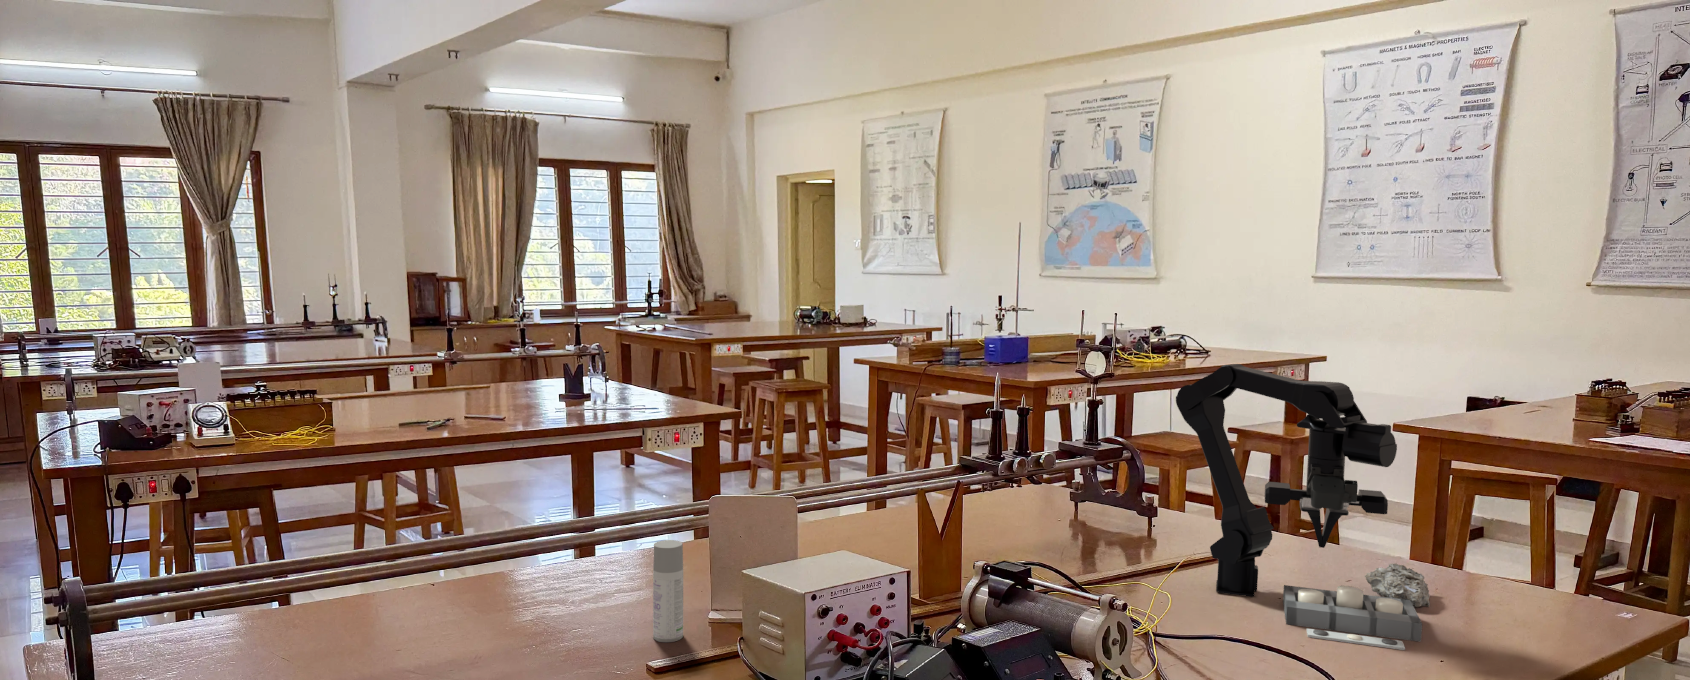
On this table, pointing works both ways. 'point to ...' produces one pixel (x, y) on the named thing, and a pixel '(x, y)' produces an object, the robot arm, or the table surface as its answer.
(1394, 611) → the button right
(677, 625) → the container
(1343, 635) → the card
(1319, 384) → the robot arm
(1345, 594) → the button middle
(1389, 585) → the mineral specimen
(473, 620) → the table surface
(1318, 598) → the button left
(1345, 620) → the button board
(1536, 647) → the table surface
